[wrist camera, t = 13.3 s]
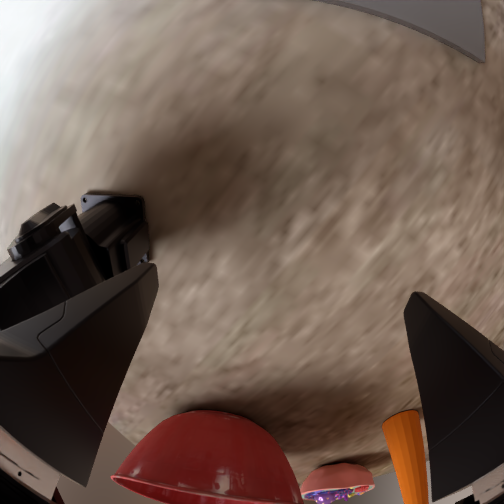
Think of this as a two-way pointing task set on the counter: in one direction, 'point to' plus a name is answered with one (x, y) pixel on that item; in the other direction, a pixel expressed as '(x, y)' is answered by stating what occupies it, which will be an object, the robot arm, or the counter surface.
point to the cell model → (336, 482)
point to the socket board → (432, 20)
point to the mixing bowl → (209, 463)
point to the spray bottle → (408, 455)
